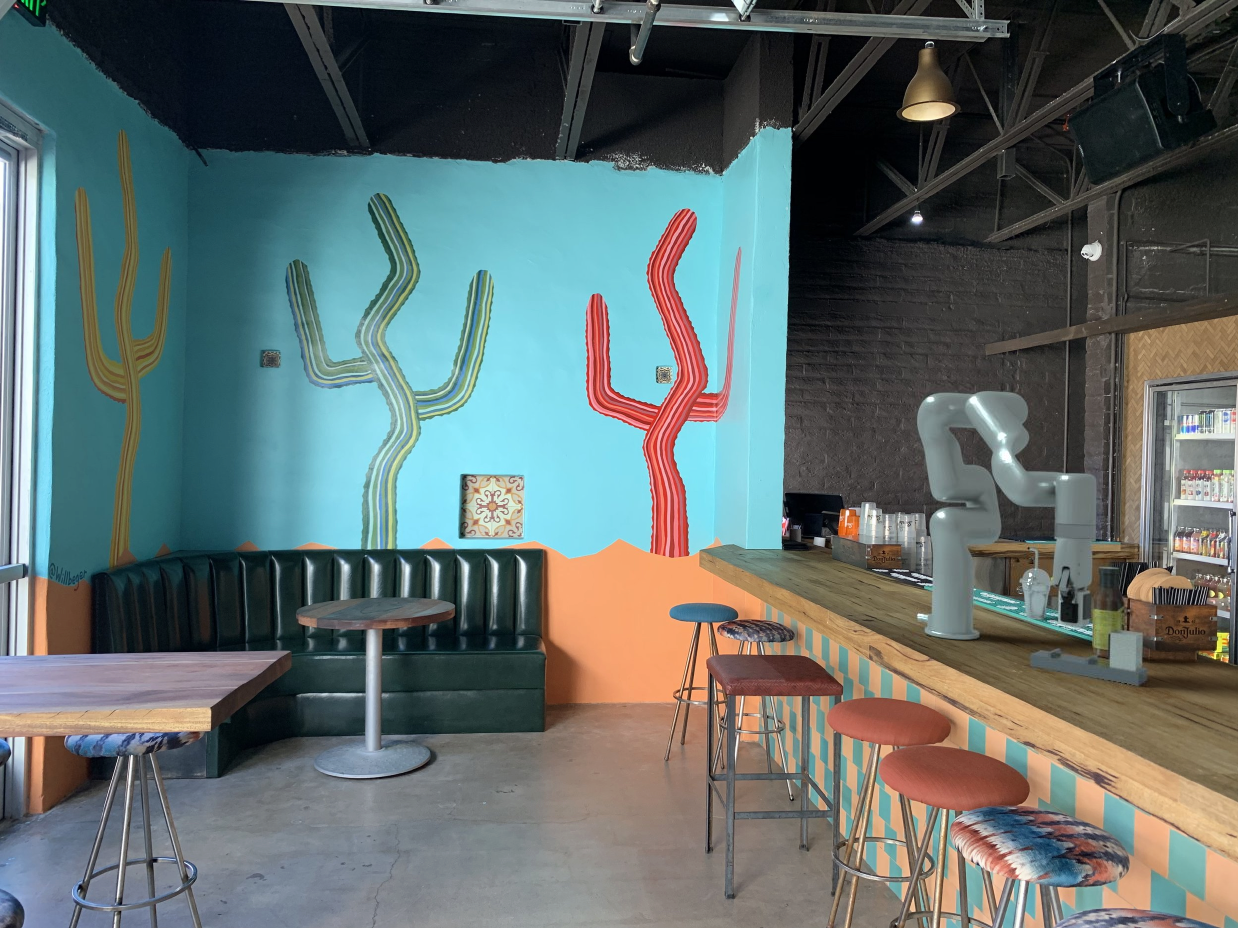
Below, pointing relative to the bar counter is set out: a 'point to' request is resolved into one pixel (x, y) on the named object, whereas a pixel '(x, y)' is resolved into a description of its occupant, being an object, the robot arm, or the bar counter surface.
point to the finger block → (1079, 608)
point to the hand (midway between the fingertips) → (1073, 619)
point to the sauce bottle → (1107, 610)
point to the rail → (1120, 668)
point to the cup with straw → (1035, 590)
